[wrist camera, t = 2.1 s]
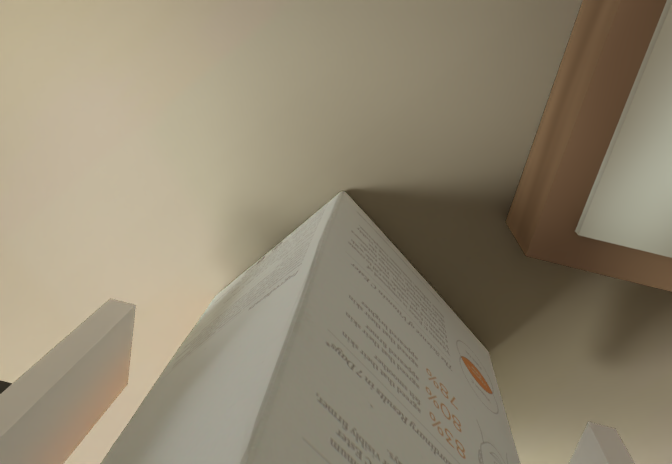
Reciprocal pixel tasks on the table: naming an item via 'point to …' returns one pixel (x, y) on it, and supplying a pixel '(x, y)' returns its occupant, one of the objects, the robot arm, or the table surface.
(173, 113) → the table surface
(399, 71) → the table surface
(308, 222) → the small box
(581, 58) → the stand
